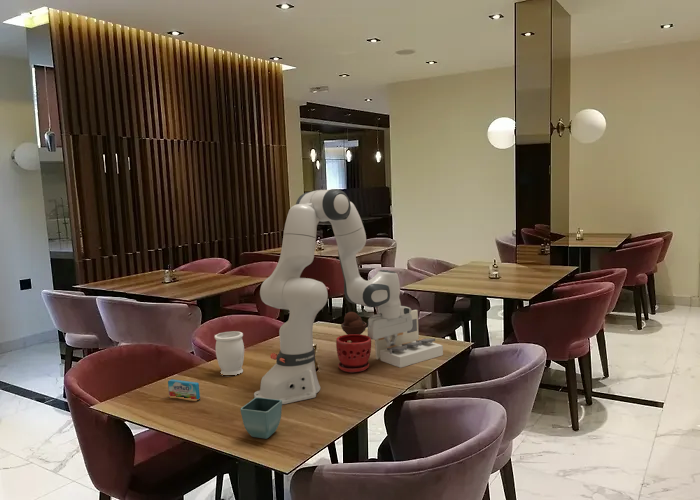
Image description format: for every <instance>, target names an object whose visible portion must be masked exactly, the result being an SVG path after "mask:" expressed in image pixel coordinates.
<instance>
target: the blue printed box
mask: <svg viewBox="0 0 700 500" xmlns="http://www.w3.org/2000/svg"><path fill="white" fill-rule="evenodd" d="M167 385H168V386H167V387H168V396H169V395H170V396H176V397H184V398H191V399H199V398H200V399H201V393H200V383H199V382H196V381H188V380H181V379H180V380H179V379H173V378H172V379H169V380H168V381H167Z"/></svg>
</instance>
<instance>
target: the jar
mask: <svg viewBox="0 0 700 500" xmlns="http://www.w3.org/2000/svg"><path fill="white" fill-rule="evenodd" d="M243 337H244V333H243V332H241V331H236V330H235V331H234V330H233V331H224V332H219V333H217V334H214V339H215V340H216V342H215V357H216V359H217V364H218V367H219V368H220V370H221V371H220V373H221V374H223V375H235V376H238V375H237V374H239V375H241V374H242V373H243V372H244V369H243V368H242V367H243V364H244V356H245V346H244V345H245V343H244V341H243ZM240 373H241V374H240ZM221 374H220V375H221ZM223 375H222V376H223Z"/></svg>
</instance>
